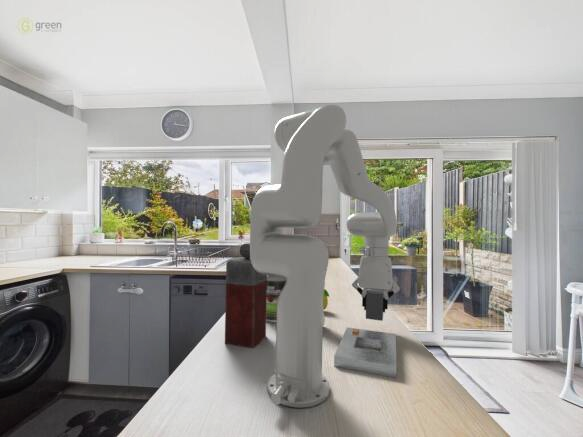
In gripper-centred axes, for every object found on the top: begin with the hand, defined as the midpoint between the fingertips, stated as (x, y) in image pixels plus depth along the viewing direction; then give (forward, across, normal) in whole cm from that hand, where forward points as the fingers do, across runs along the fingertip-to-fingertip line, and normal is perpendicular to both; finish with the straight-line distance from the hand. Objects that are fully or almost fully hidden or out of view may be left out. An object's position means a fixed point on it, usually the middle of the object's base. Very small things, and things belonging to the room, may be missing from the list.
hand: (374, 309), depth 90 cm
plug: (+2, 0, +2) cm, 3 cm away
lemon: (+7, -21, +14) cm, 26 cm away
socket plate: (+7, -1, -16) cm, 18 cm away
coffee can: (+8, -35, +1) cm, 36 cm away
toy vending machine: (+8, -35, -19) cm, 40 cm away
